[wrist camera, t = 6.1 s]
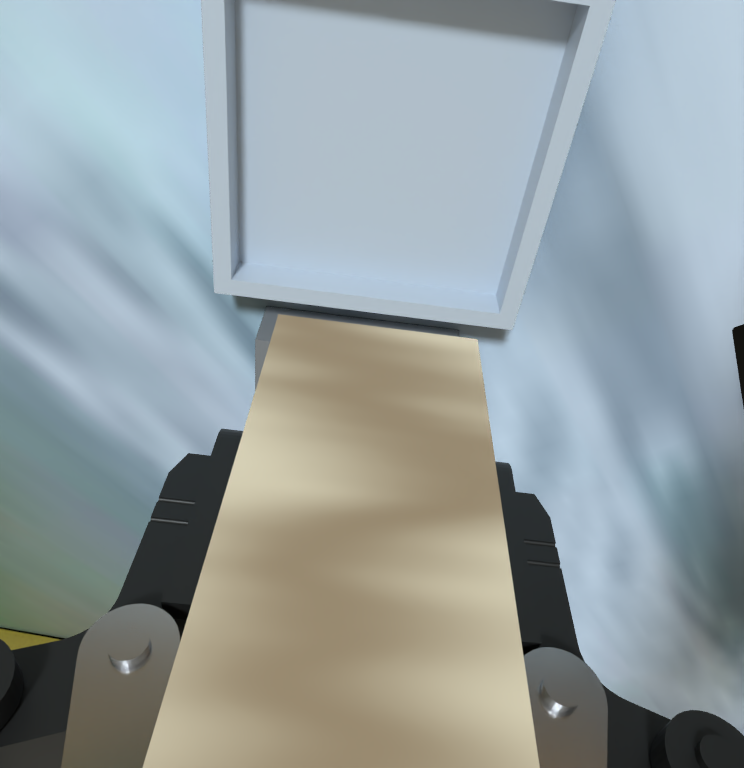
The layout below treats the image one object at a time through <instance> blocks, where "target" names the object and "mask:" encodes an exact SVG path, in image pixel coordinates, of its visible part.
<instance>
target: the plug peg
mask: <svg viewBox="0 0 744 768" xmlns="http://www.w3.org/2000/svg"><path fill="white" fill-rule="evenodd" d="M143 768H540V765H539V759H538V752H537V745H536V738H535V731H534V724H533V717H532V711H531V704H530V697H529V690H528V683H527V676H526V669H525V663H524V656H523V649H522V642H521V635H520V628H519V621H518V615H517V608H516V601H515V594H514V587H513V580H512V573H511V567H510V560H509V553H508V546H507V539H506V532H505V525H504V519H503V512H502V505H501V498H500V491H499V484H498V477H497V471H496V464H495V457H494V450H493V443H492V436H491V429H490V423H489V416H488V409H487V402H486V395H485V388H484V381H483V374H482V368H481V361H480V354H479V347H478V340H477V339H472V338H464V337H456V336H448V335H440V334H432V333H424V332H416V331H408V330H400V329H392V328H384V327H376V326H368V325H361V324H353V323H345V322H337V321H329V320H321V319H313V318H305V317H297V316H289V315H281V314H278V317H277V321H276V324H275V327H274V331H273V334H272V337H271V341H270V344H269V347H268V351H267V354H266V357H265V361H264V364H263V367H262V371H261V374H260V377H259V381H258V384H257V387H256V391H255V394H254V397H253V401H252V404H251V407H250V411H249V414H248V417H247V421H246V424H245V427H244V431H243V434H242V437H241V441H240V444H239V447H238V451H237V454H236V457H235V461H234V464H233V467H232V471H231V474H230V477H229V481H228V484H227V487H226V491H225V494H224V497H223V501H222V504H221V507H220V511H219V514H218V517H217V521H216V524H215V527H214V531H213V534H212V537H211V541H210V544H209V547H208V551H207V554H206V557H205V561H204V564H203V567H202V571H201V574H200V578H199V581H198V584H197V588H196V591H195V594H194V598H193V601H192V604H191V608H190V611H189V614H188V618H187V621H186V624H185V628H184V631H183V634H182V638H181V641H180V644H179V648H178V651H177V654H176V658H175V661H174V664H173V668H172V671H171V674H170V678H169V681H168V684H167V688H166V691H165V694H164V698H163V701H162V704H161V708H160V711H159V714H158V718H157V721H156V724H155V728H154V731H153V734H152V738H151V741H150V744H149V748H148V751H147V754H146V758H145V761H144V764H143Z"/></svg>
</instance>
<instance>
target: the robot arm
mask: <svg viewBox="0 0 744 768" xmlns="http://www.w3.org/2000/svg"><path fill="white" fill-rule="evenodd" d="M242 434H243V431H237V430H229V429H221V430H220V432H219V434H218V436H217V439H216V442H215V445H214V448H213V451H212V454H211V456H207V455H199V454H190V453H188V454H187V455H186V456H185V457H184V458H183V459H182V460H181V461H180V462H179V463H178V464H177V465H176V466H175V467H174V468H173V469H172V470H171V471H170V472H169V473H168V476H167V478H166V481H165V483H164V486H163V488H162V491H161V493H160V496H159V501H158V502H157V503H156V506H155V508H154V511H153V513H152V516H151V521H150V522H149V523H148V525H147V528H146V530H145V533H144V535H143V538H142V540H141V543H140V545H139V548H138V550H137V553H136V555H135V558H134V560H133V563H132V565H131V568H130V570H129V573H128V575H127V577H126V580H125V582H124V585H123V587H122V590H121V592H120V595H119V597H118V599H117V601H116V602H115V604H114V605H113V607H112V608H111V610H110V611H109V612H108V613H107V614H105V615H104V616H102V617H101V618H100V619H98V620H97V621H96V622H95V623H94V624H93V625H92V626H91V627H90V628H89V629H87V630H85V631H83V632H82V633H80V634H77V635H75V636H72V637H70V638H66V639H62V640H59V641H54V642H49V643H44V644H39V645H34V646H29V647H24V648H19V649H15V650H11V649H10V647H9V646H8V645H7V644H6V643H5V642H4V641H3V640H1V639H0V768H143V764H144V761H145V758H146V754H147V751H148V748H149V744H150V741H151V738H152V734H153V731H154V728H155V724H156V721H157V718H158V714H159V711H160V708H161V704H162V701H163V698H164V694H165V691H166V688H167V684H168V681H169V678H170V674H171V671H172V668H173V664H174V661H175V658H176V654H177V651H178V648H179V644H180V641H181V638H182V634H183V631H184V628H185V624H186V621H187V618H188V614H189V611H190V608H191V604H192V601H193V598H194V594H195V591H196V588H197V584H198V581H199V578H200V574H201V571H202V567H203V564H204V561H205V557H206V554H207V551H208V547H209V544H210V541H211V537H212V534H213V531H214V527H215V524H216V521H217V517H218V514H219V511H220V507H221V504H222V501H223V497H224V494H225V491H226V487H227V484H228V481H229V477H230V474H231V471H232V467H233V464H234V461H235V457H236V454H237V451H238V447H239V444H240V441H241V437H242ZM495 464H496V471H497V477H498V484H499V491H500V498H501V505H502V512H503V519H504V525H505V532H506V539H507V546H508V553H509V560H510V567H511V573H512V580H513V587H514V594H515V601H516V608H517V615H518V621H519V628H520V635H521V642H522V649H523V656H524V663H525V669H526V676H527V683H528V690H529V697H530V704H531V711H532V717H533V724H534V731H535V738H536V745H537V752H538V759H539V765H540V768H744V736H743V735H742V734H741V733H740V732H739V731H738V730H737V729H736V728H735V727H733V726H732V725H731V724H729V723H728V722H726V721H725V720H723V719H721V718H719V717H718V716H716V715H713V714H710V713H708V712H703V711H697V710H690V711H684V712H682V713H680V714H677V715H676V716H675V717H674V718H673V719H672V720H670V719H668V718H665V717H663V716H661V715H659V714H656V713H654V712H652V711H649V710H647V709H645V708H643V707H640V706H638V705H636V704H634V703H631V702H629V701H627V700H625V699H623V698H621V697H619V696H617V695H616V694H614V693H613V692H611V691H610V690H609V689H607V688H606V687H605V686H604V685H603V684H602V683H601V682H600V680H599V679H598V677H597V676H596V674H595V673H594V672H593V670H592V669H591V668H590V667H589V666H588V665H587V664H586V663H585V662H584V660H583V657H582V655H581V653H580V650H579V647H578V643H577V638H576V634H575V629H574V624H573V620H572V615H571V611H570V606H569V602H568V597H567V592H566V588H565V583H564V579H563V574H562V570H561V569H560V560H559V556H558V551H557V548H555V543H556V542H555V538H554V533H553V528H552V524H551V519H550V517H549V515H548V514H547V512H546V511H545V509H544V508H543V506H542V505H541V503H540V502H539V500H538V499H537V497H536V496H535V494H528V493H520V492H515V486H514V480H513V474H512V469H511V466H510V464H509V463H503V462H495Z"/></svg>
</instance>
